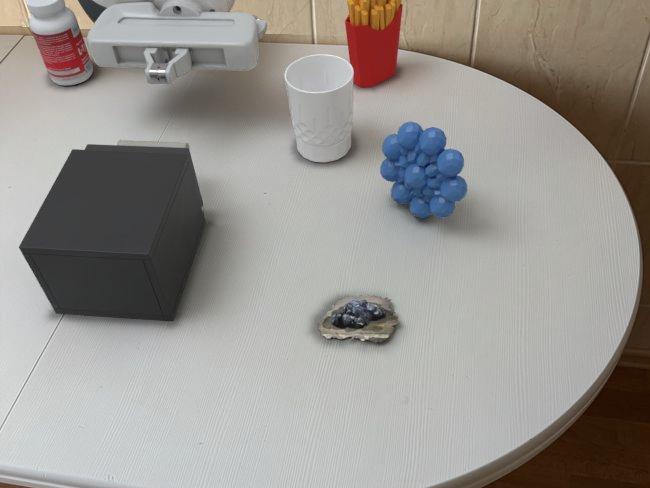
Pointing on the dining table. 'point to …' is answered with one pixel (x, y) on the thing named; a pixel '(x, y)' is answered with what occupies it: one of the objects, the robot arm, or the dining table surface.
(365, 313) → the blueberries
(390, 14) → the french fries
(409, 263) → the dining table surface
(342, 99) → the white cup
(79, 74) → the pill bottle
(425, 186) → the grapes
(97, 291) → the cabinet
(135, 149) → the drawer
